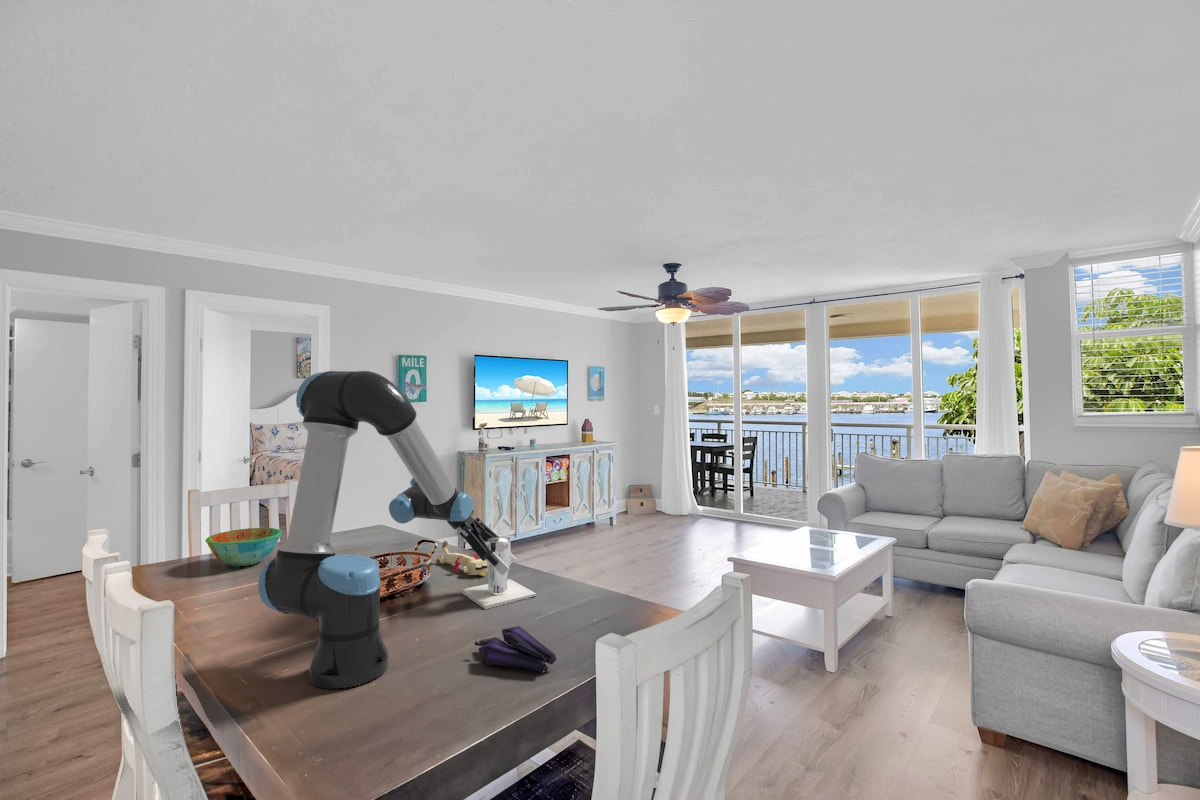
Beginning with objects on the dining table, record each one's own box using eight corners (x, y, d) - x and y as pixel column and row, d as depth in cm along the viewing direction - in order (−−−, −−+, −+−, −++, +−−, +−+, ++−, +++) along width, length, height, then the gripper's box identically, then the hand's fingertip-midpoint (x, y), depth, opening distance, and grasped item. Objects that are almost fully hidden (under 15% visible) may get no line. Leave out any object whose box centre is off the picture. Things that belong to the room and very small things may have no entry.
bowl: (224, 578, 179) (224, 546, 179) (193, 566, 191) (193, 537, 191) (295, 561, 198) (295, 532, 198) (262, 551, 210) (262, 524, 210)
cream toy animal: (430, 569, 194) (472, 579, 177) (429, 543, 195) (471, 551, 178) (455, 562, 201) (498, 572, 184) (454, 538, 202) (496, 545, 185)
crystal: (565, 636, 122) (497, 609, 133) (530, 662, 113) (460, 630, 124) (565, 667, 123) (498, 637, 134) (530, 695, 114) (461, 661, 125)
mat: (536, 596, 163) (536, 593, 163) (485, 609, 154) (485, 605, 154) (510, 582, 176) (510, 579, 176) (461, 592, 167) (461, 589, 167)
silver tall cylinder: (514, 591, 165) (515, 540, 165) (495, 597, 160) (496, 544, 160) (500, 586, 170) (501, 535, 170) (480, 591, 165) (481, 539, 165)
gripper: (457, 512, 176) (508, 564, 176) (433, 528, 155) (491, 588, 154) (474, 495, 176) (525, 548, 175) (452, 509, 155) (510, 569, 154)
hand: (509, 566), depth 165 cm, fingers open, 9 cm apart
